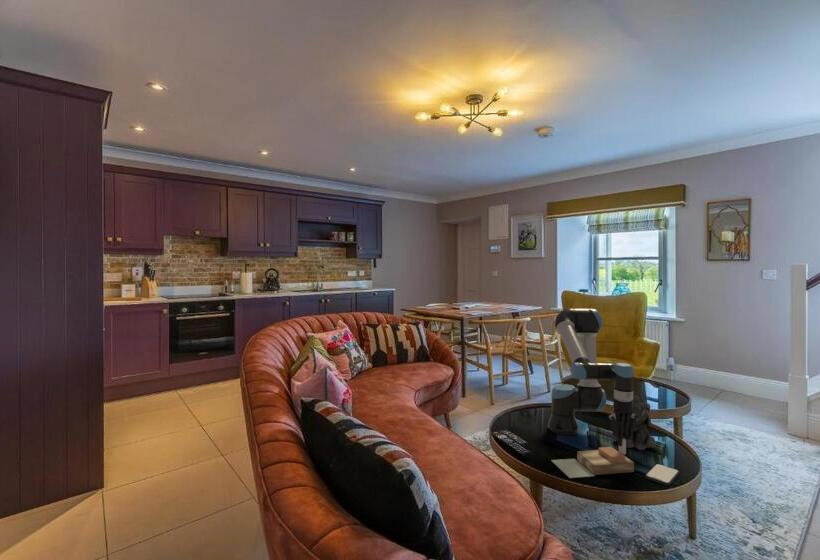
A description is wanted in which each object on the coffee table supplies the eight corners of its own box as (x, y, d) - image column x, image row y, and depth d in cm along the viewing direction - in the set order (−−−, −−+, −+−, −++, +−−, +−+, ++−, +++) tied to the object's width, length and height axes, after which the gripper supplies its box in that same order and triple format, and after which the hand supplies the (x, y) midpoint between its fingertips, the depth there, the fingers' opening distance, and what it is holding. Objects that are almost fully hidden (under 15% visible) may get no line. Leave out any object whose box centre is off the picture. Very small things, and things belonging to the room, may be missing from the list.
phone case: (656, 466, 174) (644, 479, 163) (656, 463, 174) (644, 475, 163) (680, 474, 168) (669, 487, 157) (680, 470, 168) (669, 483, 157)
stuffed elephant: (634, 455, 183) (635, 397, 183) (603, 436, 204) (604, 384, 203) (669, 451, 188) (670, 394, 187) (635, 433, 208) (636, 382, 207)
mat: (551, 460, 178) (551, 460, 178) (574, 459, 179) (574, 458, 179) (569, 478, 163) (569, 477, 163) (594, 476, 165) (594, 475, 165)
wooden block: (577, 460, 179) (577, 451, 178) (613, 457, 181) (613, 448, 181) (594, 474, 166) (594, 465, 166) (633, 471, 168) (634, 462, 168)
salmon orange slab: (598, 451, 178) (598, 447, 178) (610, 451, 179) (610, 446, 179) (611, 461, 169) (611, 456, 169) (624, 460, 170) (624, 456, 170)
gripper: (615, 402, 169) (614, 457, 170) (642, 401, 171) (641, 455, 172) (604, 397, 177) (603, 449, 177) (630, 396, 179) (629, 448, 179)
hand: (622, 452), depth 175 cm, fingers closed
